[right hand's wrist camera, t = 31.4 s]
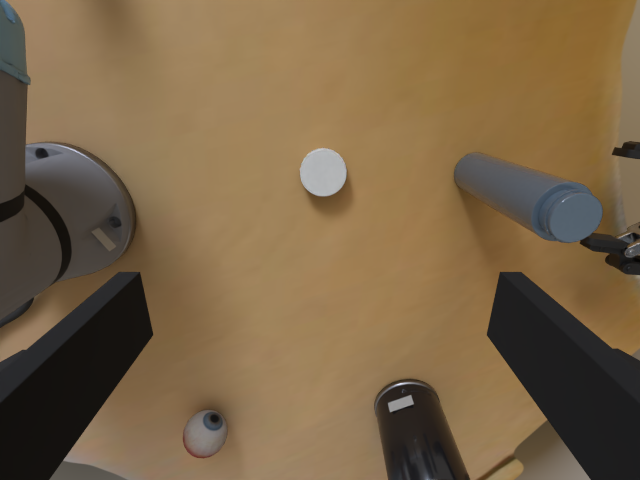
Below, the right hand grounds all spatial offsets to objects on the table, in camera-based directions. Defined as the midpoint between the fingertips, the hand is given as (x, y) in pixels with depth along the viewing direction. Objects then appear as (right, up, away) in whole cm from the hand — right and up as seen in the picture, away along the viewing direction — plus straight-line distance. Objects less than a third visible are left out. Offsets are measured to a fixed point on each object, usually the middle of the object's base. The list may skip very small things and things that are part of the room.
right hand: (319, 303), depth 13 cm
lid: (0, +10, +25) cm, 27 cm away
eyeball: (-16, -24, +39) cm, 49 cm away
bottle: (+17, +10, +26) cm, 33 cm away
